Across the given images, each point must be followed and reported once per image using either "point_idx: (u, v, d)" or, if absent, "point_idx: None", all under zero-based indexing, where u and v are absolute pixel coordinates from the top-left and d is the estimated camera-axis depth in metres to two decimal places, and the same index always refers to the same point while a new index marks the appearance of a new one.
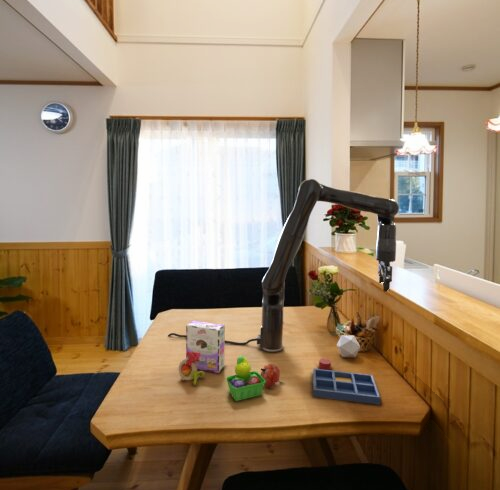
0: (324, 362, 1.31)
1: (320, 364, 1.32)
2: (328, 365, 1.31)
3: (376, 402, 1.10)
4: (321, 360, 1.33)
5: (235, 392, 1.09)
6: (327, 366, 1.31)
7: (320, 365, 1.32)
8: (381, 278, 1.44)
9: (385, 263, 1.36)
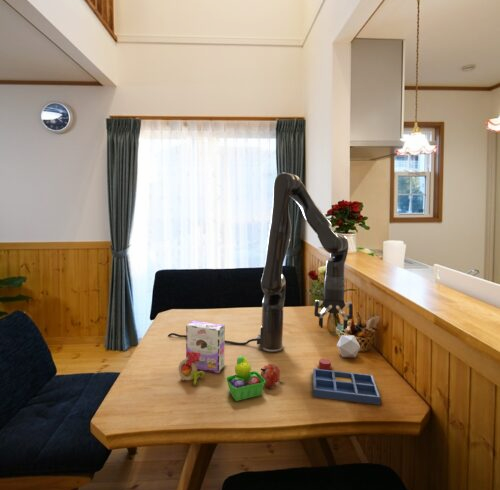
0: (324, 362, 1.31)
1: (320, 364, 1.32)
2: (328, 365, 1.31)
3: (376, 402, 1.10)
4: (321, 360, 1.33)
5: (235, 392, 1.09)
6: (327, 366, 1.31)
7: (320, 365, 1.32)
8: (343, 320, 1.33)
9: None
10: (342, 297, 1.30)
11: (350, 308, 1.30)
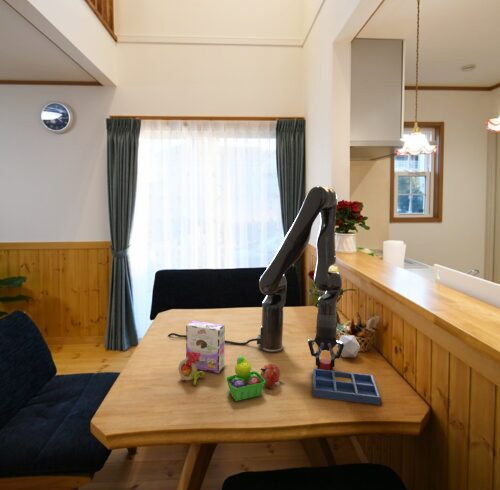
0: (324, 362, 1.31)
1: (320, 364, 1.32)
2: (328, 365, 1.31)
3: (376, 402, 1.10)
4: (321, 360, 1.33)
5: (235, 392, 1.09)
6: (327, 366, 1.31)
7: (320, 365, 1.32)
8: None
9: None
10: (334, 335, 1.29)
11: (340, 348, 1.30)
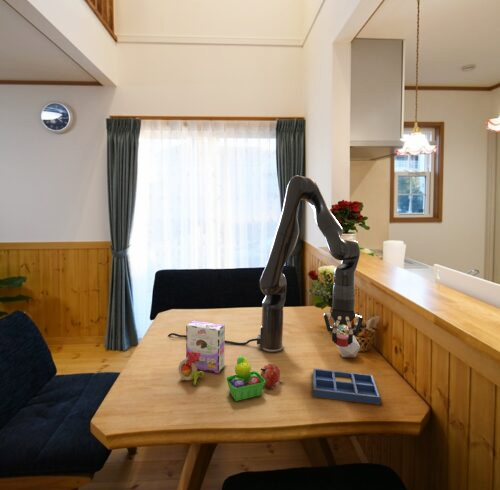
0: (341, 338, 1.22)
1: (337, 340, 1.22)
2: (346, 340, 1.21)
3: (376, 402, 1.10)
4: (338, 336, 1.24)
5: (235, 392, 1.09)
6: (345, 341, 1.21)
7: (337, 341, 1.22)
8: (348, 334, 1.23)
9: None
10: (352, 307, 1.20)
11: (359, 322, 1.21)
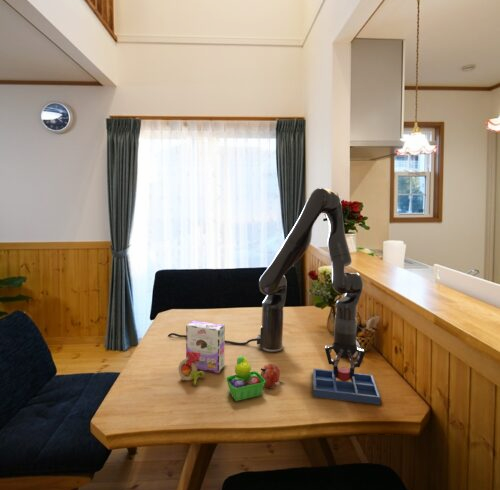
0: (343, 371, 1.21)
1: (338, 373, 1.21)
2: (347, 374, 1.20)
3: (376, 402, 1.10)
4: (339, 369, 1.22)
5: (235, 392, 1.09)
6: (347, 375, 1.20)
7: (338, 374, 1.21)
8: None
9: None
10: (354, 342, 1.19)
11: (361, 356, 1.19)
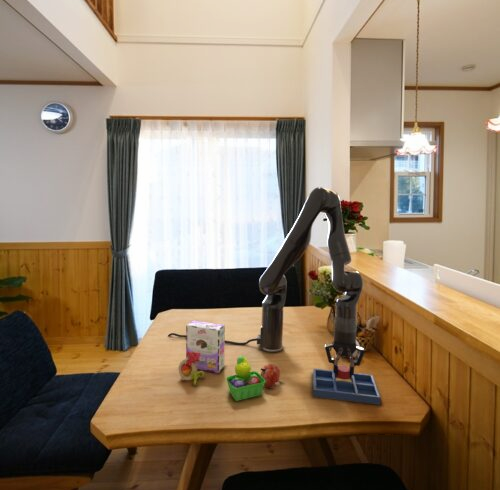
0: (343, 370, 1.21)
1: (338, 372, 1.21)
2: (347, 373, 1.20)
3: (376, 402, 1.10)
4: (339, 367, 1.22)
5: (235, 392, 1.09)
6: (346, 374, 1.20)
7: (338, 373, 1.21)
8: (349, 366, 1.22)
9: None
10: (354, 340, 1.18)
11: (361, 355, 1.19)
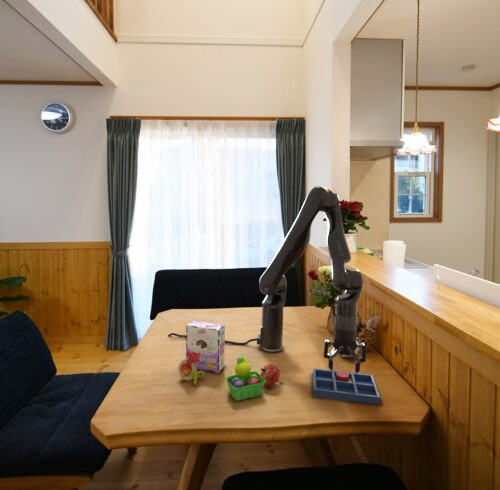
0: (342, 376, 1.21)
1: (337, 377, 1.21)
2: (346, 378, 1.20)
3: (376, 402, 1.10)
4: (338, 373, 1.23)
5: (235, 392, 1.09)
6: (346, 379, 1.20)
7: (337, 378, 1.21)
8: (355, 362, 1.21)
9: None
10: (354, 338, 1.18)
11: (363, 350, 1.19)
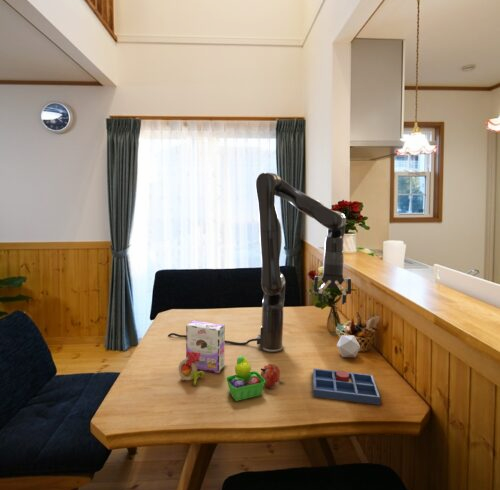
0: (342, 376, 1.21)
1: (337, 377, 1.21)
2: (346, 378, 1.20)
3: (376, 402, 1.10)
4: (338, 373, 1.23)
5: (235, 392, 1.09)
6: (346, 379, 1.20)
7: (337, 378, 1.21)
8: (342, 295, 1.35)
9: None
10: (341, 272, 1.32)
11: (349, 283, 1.33)
